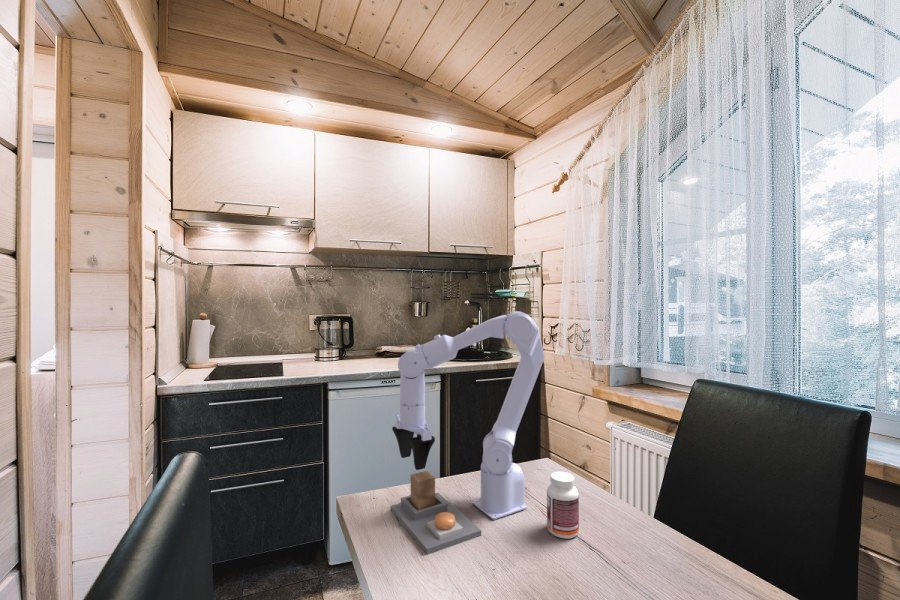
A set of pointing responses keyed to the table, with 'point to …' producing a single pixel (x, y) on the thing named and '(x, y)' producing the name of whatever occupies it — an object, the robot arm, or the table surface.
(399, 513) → the loading station
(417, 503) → the block
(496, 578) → the table surface
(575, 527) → the pill bottle
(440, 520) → the button
